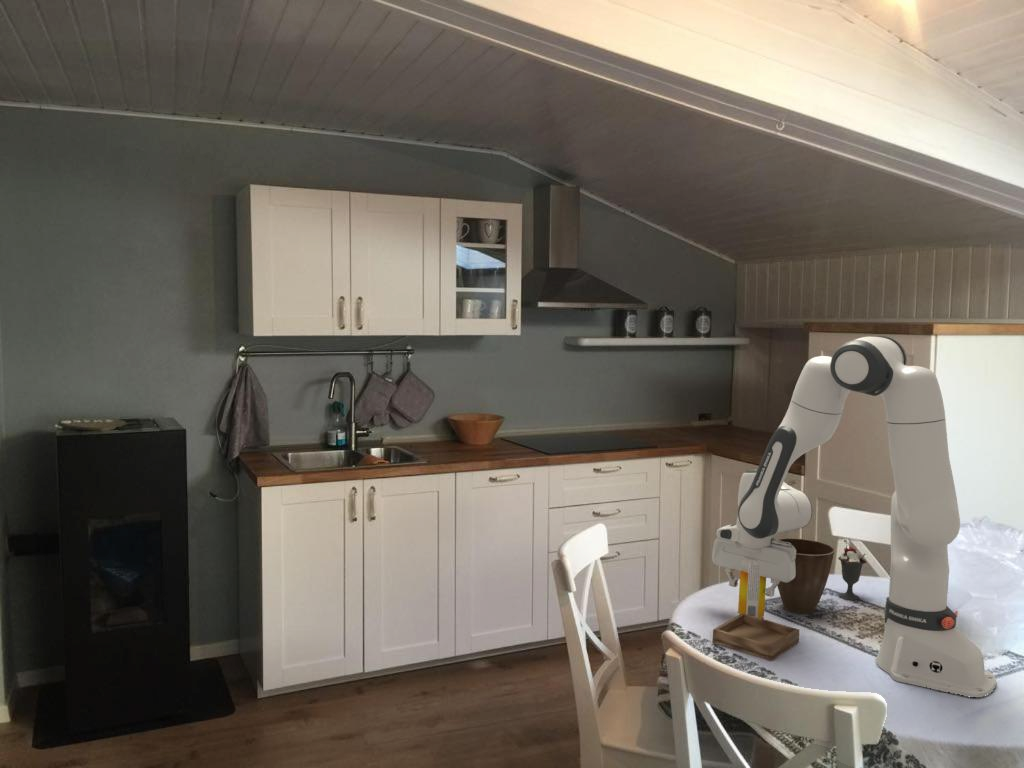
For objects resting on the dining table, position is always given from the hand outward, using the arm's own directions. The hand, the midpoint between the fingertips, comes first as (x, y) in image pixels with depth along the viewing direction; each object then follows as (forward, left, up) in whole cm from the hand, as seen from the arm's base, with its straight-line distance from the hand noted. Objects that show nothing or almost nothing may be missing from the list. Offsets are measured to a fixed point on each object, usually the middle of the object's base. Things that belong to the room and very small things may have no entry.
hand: (751, 590), depth 209 cm
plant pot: (-6, -14, -7) cm, 17 cm away
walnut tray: (-8, +14, -7) cm, 17 cm away
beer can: (0, 0, -7) cm, 7 cm away
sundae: (-12, -32, -7) cm, 35 cm away
